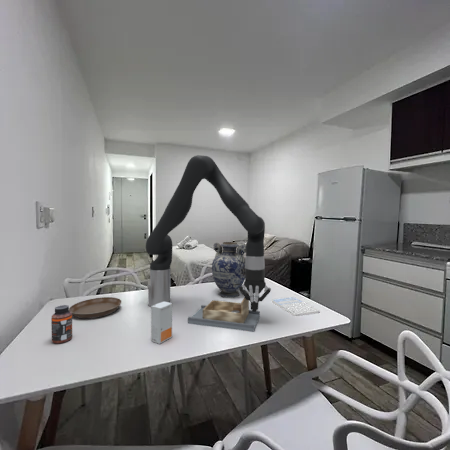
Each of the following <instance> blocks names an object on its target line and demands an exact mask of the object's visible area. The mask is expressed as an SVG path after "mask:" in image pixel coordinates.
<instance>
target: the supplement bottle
mask: <svg viewBox="0 0 450 450" xmlns="http://www.w3.org/2000/svg"><path fill="white" fill-rule="evenodd" d="M69 308H70V306H69V305H67V304H63V305H62V304H61V305H57V306H55V307H54V313H53V314H52V315H51V321H50V322H51V323H50V324H51V325H50V326H51V342H52V343H53V344H63V343H67V342H68V341H70V340H72V338H73V315H72V312H70V311H69Z"/></svg>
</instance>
